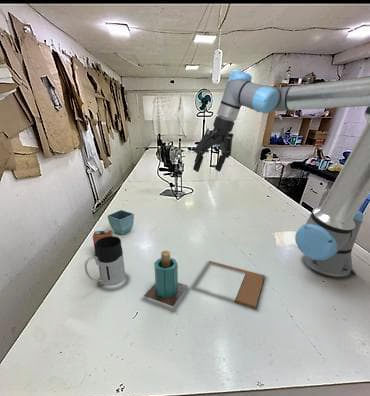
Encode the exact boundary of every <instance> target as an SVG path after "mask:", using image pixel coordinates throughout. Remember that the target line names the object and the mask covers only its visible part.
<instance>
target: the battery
mask: <svg viewBox="0 0 370 396" xmlns="http://www.w3.org/2000/svg"><path fill="white" fill-rule="evenodd" d="M109 236H114V234H113V230H110V229H103V230H95V231H94V232H93V234H92V241H93V247H94V253H95V257H98V256H97V250H96V242H97V241H98V240H99V239H101V238H104V237H109Z"/></svg>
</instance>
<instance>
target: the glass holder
mask: <svg viewBox="0 0 370 396" xmlns="http://www.w3.org/2000/svg"><path fill="white" fill-rule="evenodd" d="M96 250H97V256H93V255H92V256H89V257H88V258H87V259H86V260H85V262H84V272H85V274H86V276H87V277H88V278H89V279H90V280H91V281H94V282H99V285H100V286H102V285H105V286H116V285H119V284H121V283H123V282H124V281H125V279H126V269H125V260H124V259H125V258H124V251H123V246H122V239H121V238H120V237H118V236H114V235H113V236H109V237H104V238H101V239H99V240H98V241H97V242H96ZM92 259H94V261H95V264H96V265H97V266H98V270H99V278H100V279H95V278H93V277H92V276H91V275H90V273H89V271H88V264H89V262H90V260H92Z"/></svg>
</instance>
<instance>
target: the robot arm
mask: <svg viewBox="0 0 370 396" xmlns="http://www.w3.org/2000/svg"><path fill="white" fill-rule="evenodd" d="M243 106H244V107H245V108H248V109H251V110H253V111H255V112H257V113H262V114H265V115H266V114H269V113H270V112H273V111H274V112H286V111H299V110H300V111H301V110H318V109H319V110H320V109H337V108H357V107H359V108H360V107H366V109H365V110H364V113H363V115H364V118H365V121H366V124H365V125H364V127H363V129H362V131H361V133H360V135H359V136H358V139H357V140H356V142H355V144H354V146H353V147H352V149H351V150H350V153H349V155H348V157H347V158H346V160H345V162H344V164H343V165H342V168H341V170H340V171H339V174H338V175H337V177H336V179H335V181H334V182H333V184H332V186H331V188H330V190H329V192H328V193H327V195H326V197H325V199H324V201H323V202H322V204H321V205H320V206H316V207H314V208H313V209H312V211H311V212H310V213H311V214H310V215H309V217H308V218H307V220H306V222H305V223H304V224H303V225H301V226H300V227H299V228H298V230H296V232H295V237H294V239H295V243H296V245H297V249H299V251H300V252H301V253H302V254H303V255H304V264H305V265H306V266H307V267H308V268H309V269H310V270H312V271H313V272H315V273H317V274H320V275H322V276H325V277H329V278H334V279H335V278H336V279H341V278H346V277H349V276H350V275H351V274H352V276H354V277H356V276H357V274H356V273H355V271H354V270H353V262H352V261H353V259H352V251H353V249H354V245H355V242H356V240H357V237H358V234H359V232H360V229H361V225H362V223H363V219H364V214H363V213H362V211H361V210H360V209H361V207H362V206H363V204H364V203H365V201H366V200H367V198H368V197H369V195H370V75H367V76H360V77H352V78H344V79H337V80H328V81H322V82H314V83H306V84H298V85H291V86H290V85H289V86H281V87H279V86H273V85H272V86H271V85H265V84H260V83H256V82H252V75H251V74H250V73H247V72H245V71H242V70H238V69H232V71H231V72H230V74H229V77H228V79H227V81H226V84H225V88H224V91H223V94H222V98H221V100H220V103H219V107H218V110H217V113H216V114H217V115H216V116H215V118H214V121H213V123H212V125H213V129H211V128H207V129H206V131H205V133H204V134H203V136H202V137H201V139H200V140H199V141H198V143H197V145H196V146H195V148H194V149H193V152H194V153H195V154H196V156H195V159H194V165H193V167H192V170H193V171H195V172H196V173H199V171H200V169H201V166H202V163H203V160H204V157H205V156H204V154H205V153H206V152H207V151H208V150H209V149H210V148H212V147H213V145H216V144H219V147H220V153H221V154H220V155H219V157H218V160H217V162H216V164H215V167H214V170H215V171H217V172H219V173H220V172H221V170H222V168H223V165H224V164H225V161H226V159H228V158H230V157H231V155H232V148H233V147H232V145H233V144H232V143H233V138H234V133H232V131H233V128H234V126H235V122H236V121H237V119H238V116H239V113H240V110H241V108H242V107H243Z"/></svg>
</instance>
